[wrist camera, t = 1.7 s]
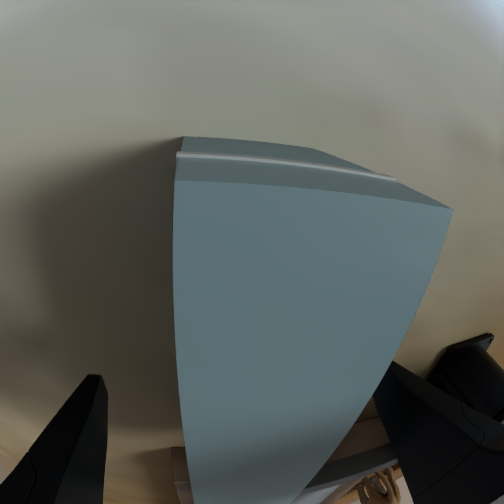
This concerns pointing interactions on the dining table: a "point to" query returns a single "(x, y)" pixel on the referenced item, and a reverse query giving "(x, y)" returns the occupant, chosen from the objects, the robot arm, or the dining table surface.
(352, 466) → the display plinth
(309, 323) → the tall pale blue block
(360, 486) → the lion figurine
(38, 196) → the dining table surface
